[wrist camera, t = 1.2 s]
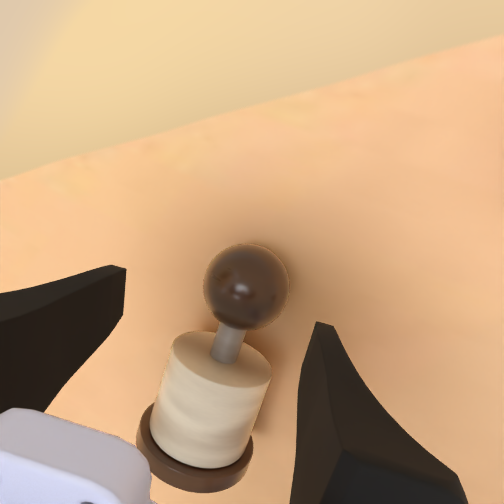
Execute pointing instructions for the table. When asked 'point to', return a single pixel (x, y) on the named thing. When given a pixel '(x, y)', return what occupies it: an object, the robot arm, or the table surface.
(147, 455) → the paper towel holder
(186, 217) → the table surface
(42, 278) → the table surface
